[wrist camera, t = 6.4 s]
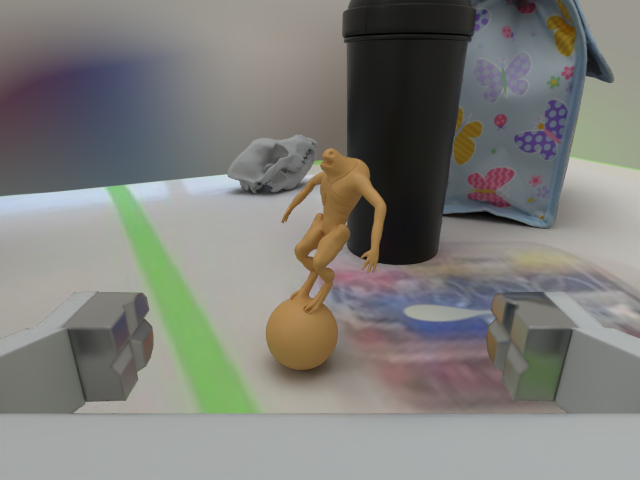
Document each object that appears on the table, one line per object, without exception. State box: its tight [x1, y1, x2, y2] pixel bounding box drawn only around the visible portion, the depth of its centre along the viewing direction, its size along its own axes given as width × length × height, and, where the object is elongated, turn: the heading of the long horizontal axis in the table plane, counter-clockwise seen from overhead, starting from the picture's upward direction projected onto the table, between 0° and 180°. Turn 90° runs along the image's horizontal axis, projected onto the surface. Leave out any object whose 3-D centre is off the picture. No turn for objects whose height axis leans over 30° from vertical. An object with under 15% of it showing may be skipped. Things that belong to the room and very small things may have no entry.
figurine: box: [266, 148, 386, 370], centre depth 23 cm, size 8×6×12 cm
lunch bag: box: [443, 0, 614, 228], centre depth 51 cm, size 22×17×26 cm
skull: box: [228, 134, 318, 194], centre depth 60 cm, size 8×9×12 cm
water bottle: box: [342, 0, 476, 264], centre depth 37 cm, size 10×10×23 cm
